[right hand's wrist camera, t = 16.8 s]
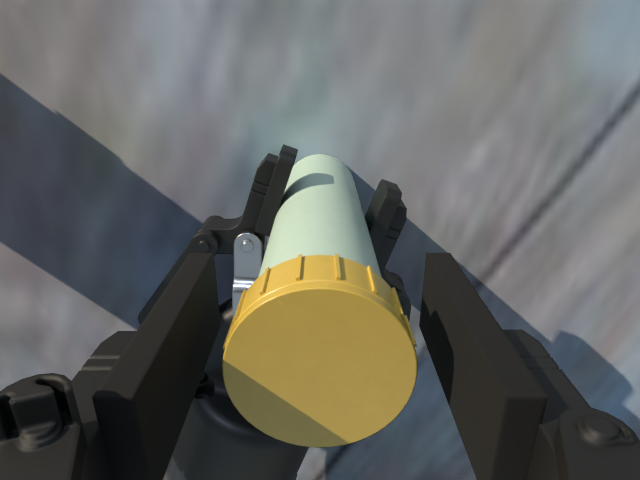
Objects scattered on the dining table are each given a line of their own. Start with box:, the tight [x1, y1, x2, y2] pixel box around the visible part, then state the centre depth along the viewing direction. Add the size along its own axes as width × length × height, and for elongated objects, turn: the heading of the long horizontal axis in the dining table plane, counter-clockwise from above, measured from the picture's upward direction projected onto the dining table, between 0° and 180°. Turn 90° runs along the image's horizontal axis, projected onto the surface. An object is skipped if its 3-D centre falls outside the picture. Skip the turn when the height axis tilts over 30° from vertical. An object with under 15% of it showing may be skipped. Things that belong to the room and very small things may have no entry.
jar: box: [258, 154, 381, 278], centre depth 19 cm, size 4×4×16 cm
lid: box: [222, 254, 417, 447], centre depth 12 cm, size 5×5×2 cm
